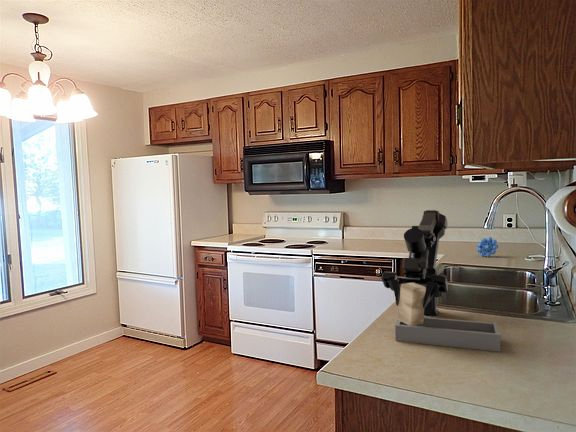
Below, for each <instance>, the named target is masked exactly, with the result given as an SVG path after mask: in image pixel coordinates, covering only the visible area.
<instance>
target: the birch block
mask: <svg viewBox="0 0 576 432" xmlns="http://www.w3.org/2000/svg"><path fill="white" fill-rule="evenodd" d="M425 293H426V287H424V286H422V285H419V284H416V283H414V282H413V283H406V284H401V283H400V301H399V305H398V318H397V320H399V321H401V322H403V323H405V324H407V325H409V326H413V325H418V324H423V320H424V317H425V314H424V308H423V300H424V297H425Z"/></svg>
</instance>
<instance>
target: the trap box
mask: <svg viewBox="0 0 576 432" xmlns="http://www.w3.org/2000/svg"><path fill="white" fill-rule="evenodd" d="M394 327H395V331H394V333H395V341H396V342H405V343H415V344H424V345H432V346H433V345H434V346H442V347H449V348H450V347H452V348H461V349H471V350H479V351H480V350H481V351H490V352H499V353H500V352H501V333H500V329H499V326H498V323H497V322H490V321H489V322H487V321H475V320H463V319H452V318H451V319H449V318H442V317H441V318H439V317H427V316H424V320H423V324H418V325H413V326H409V325H407V324H405V323H403V322H401V321H399V320H398V319H397V321H396V322H395V326H394Z"/></svg>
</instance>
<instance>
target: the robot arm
mask: <svg viewBox="0 0 576 432" xmlns="http://www.w3.org/2000/svg"><path fill="white" fill-rule="evenodd" d="M421 217H422V218H421V220H420V223H419V225H411V228H409V229H407V230H405V232H404V233H403V239H404V243H405V246H406V249H407V252H408V257H403V258H402V270H403V272H402V273H403V275H404V276H398V274H397V272H396V271H384V272H382V274H381V280H382V283H383V286H384V288H386V289H390V290H391V291H392V292H393V294H394V298H395V300H394V301H395V304H396V306H397V307H399V303H400V288H401V284H406V283H413V282H414V283H416V284H419V285H422V286H424V287H426V293H425V297H424V300H423V308H424V316H425V315H426V316H427V315H430V316H438V310H439V309H438V308H437V298H440V297H443V293H444V294H447V293H448V292H449V291H448V290H449V284H448V279H447V276H446V275H445V274H444V275H443V274H438V273H437V270H436V266H437V264H436V263H437V257H438V250H439V246H440V245H439V243H440V239H442V238H443V237H444V236H445V233H446V230H447V229H448V219H447V216H446V215H444V214H442V213H440V211H439V210H436V209H432V210H430V209H427V210H424V211H423V215H421Z"/></svg>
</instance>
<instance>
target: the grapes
mask: <svg viewBox="0 0 576 432" xmlns="http://www.w3.org/2000/svg"><path fill="white" fill-rule="evenodd" d="M497 243H498V241H497V239H493V237H491V236H488V237H487V238H486V237H484V238H482V239H481V240H480V241H479V242H478V243H477V248H476V252H477V253H479V255H480V257H484V256H485V257H486V256H489V257H491V255H495V254H496V252H497V250H498V249H499V244H497Z"/></svg>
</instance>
